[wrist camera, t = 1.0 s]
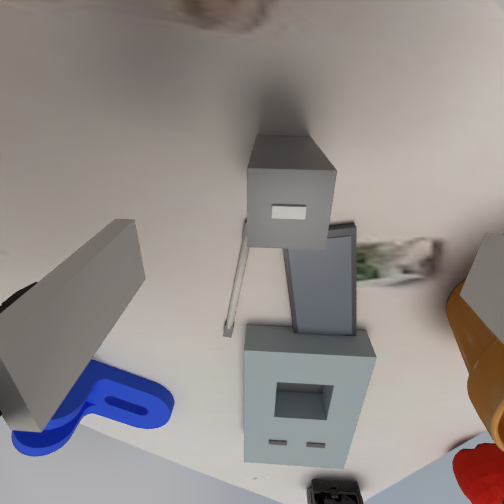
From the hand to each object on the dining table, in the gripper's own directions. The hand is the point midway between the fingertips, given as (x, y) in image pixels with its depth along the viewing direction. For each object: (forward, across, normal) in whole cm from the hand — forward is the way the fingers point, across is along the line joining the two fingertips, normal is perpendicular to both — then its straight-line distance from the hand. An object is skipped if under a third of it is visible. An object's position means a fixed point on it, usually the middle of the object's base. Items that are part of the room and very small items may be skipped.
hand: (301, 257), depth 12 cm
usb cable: (+17, -4, -13) cm, 22 cm away
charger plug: (+17, 0, 0) cm, 17 cm away
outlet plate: (+17, +4, -30) cm, 35 cm away
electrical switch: (+17, +12, -54) cm, 58 cm away
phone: (+17, +5, -13) cm, 22 cm away
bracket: (+17, -22, -32) cm, 43 cm away
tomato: (+18, +32, -42) cm, 55 cm away
